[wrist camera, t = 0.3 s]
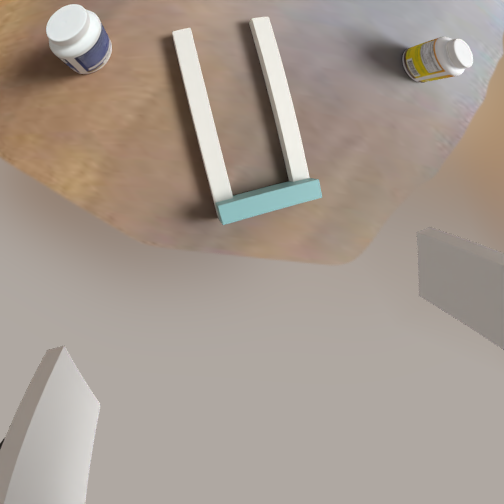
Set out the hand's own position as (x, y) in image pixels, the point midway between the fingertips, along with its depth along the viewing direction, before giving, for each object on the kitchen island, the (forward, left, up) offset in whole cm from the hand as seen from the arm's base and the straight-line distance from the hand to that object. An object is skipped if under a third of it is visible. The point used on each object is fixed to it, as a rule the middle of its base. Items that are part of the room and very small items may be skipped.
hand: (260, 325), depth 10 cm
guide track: (-9, +7, -27) cm, 29 cm away
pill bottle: (-21, -8, -27) cm, 35 cm away
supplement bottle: (-13, +34, -27) cm, 46 cm away
